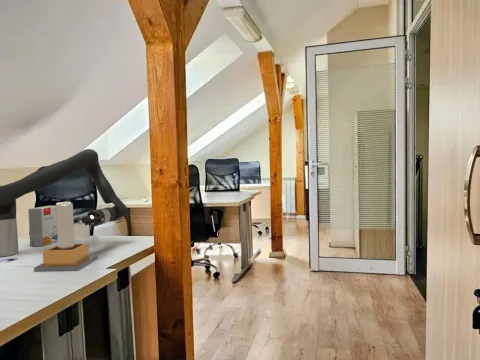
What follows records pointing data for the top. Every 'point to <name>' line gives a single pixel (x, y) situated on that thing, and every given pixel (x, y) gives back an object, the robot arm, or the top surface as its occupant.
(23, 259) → the top surface
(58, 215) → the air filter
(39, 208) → the hard drive box
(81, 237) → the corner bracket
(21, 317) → the top surface
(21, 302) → the top surface
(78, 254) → the dock
